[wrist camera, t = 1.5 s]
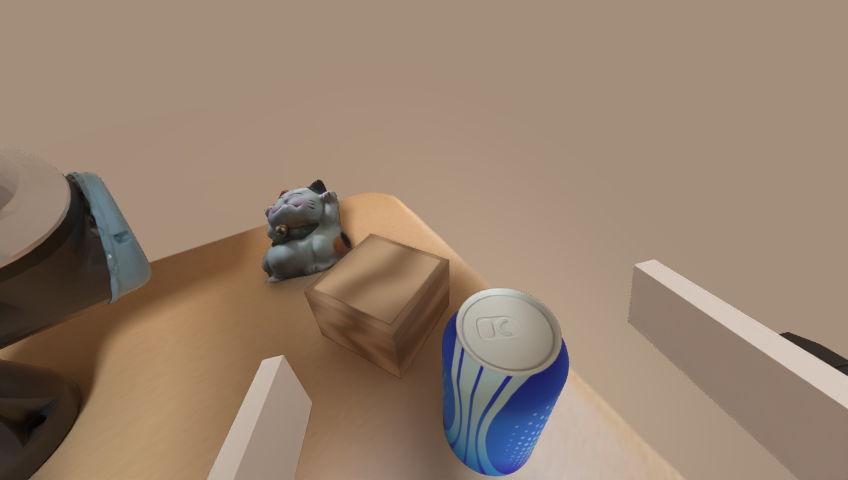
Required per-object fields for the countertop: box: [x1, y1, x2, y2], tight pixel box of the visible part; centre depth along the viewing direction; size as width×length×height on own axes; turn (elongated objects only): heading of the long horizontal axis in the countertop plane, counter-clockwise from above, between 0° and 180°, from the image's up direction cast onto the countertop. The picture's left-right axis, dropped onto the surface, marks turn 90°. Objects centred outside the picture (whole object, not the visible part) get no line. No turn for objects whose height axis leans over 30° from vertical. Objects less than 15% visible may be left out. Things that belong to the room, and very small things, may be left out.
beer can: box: [442, 288, 569, 476], centre depth 24 cm, size 8×8×16 cm
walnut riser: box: [304, 234, 449, 378], centre depth 37 cm, size 12×12×8 cm
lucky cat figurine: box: [262, 180, 353, 283], centre depth 47 cm, size 15×12×14 cm
